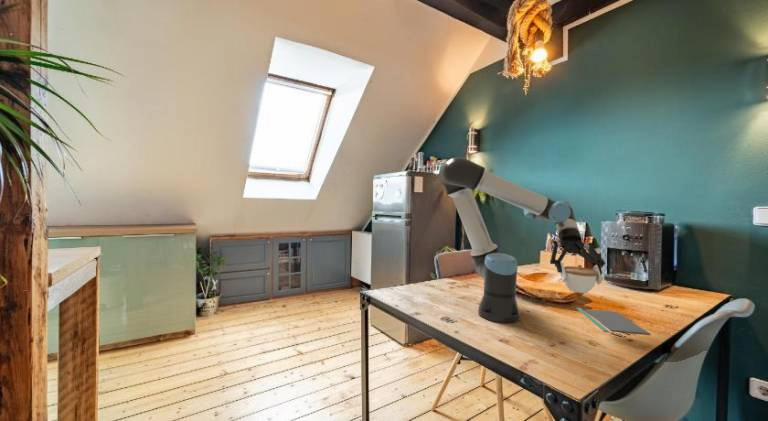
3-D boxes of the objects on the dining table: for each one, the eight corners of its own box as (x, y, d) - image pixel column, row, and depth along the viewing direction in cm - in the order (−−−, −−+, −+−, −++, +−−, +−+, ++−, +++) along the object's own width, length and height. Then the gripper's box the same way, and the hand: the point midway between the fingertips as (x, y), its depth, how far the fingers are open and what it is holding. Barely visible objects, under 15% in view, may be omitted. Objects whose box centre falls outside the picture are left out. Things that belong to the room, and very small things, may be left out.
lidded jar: (593, 289, 120) (595, 264, 120) (597, 297, 111) (599, 270, 110) (560, 284, 125) (562, 260, 125) (562, 291, 116) (563, 265, 115)
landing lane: (603, 331, 113) (604, 330, 113) (576, 308, 137) (576, 307, 137) (651, 335, 110) (651, 334, 110) (615, 311, 134) (615, 311, 134)
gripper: (597, 240, 130) (614, 289, 116) (535, 237, 135) (544, 283, 120) (604, 228, 125) (623, 278, 110) (539, 225, 129) (549, 272, 114)
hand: (582, 281), depth 115 cm, fingers closed on lidded jar, 11 cm apart
